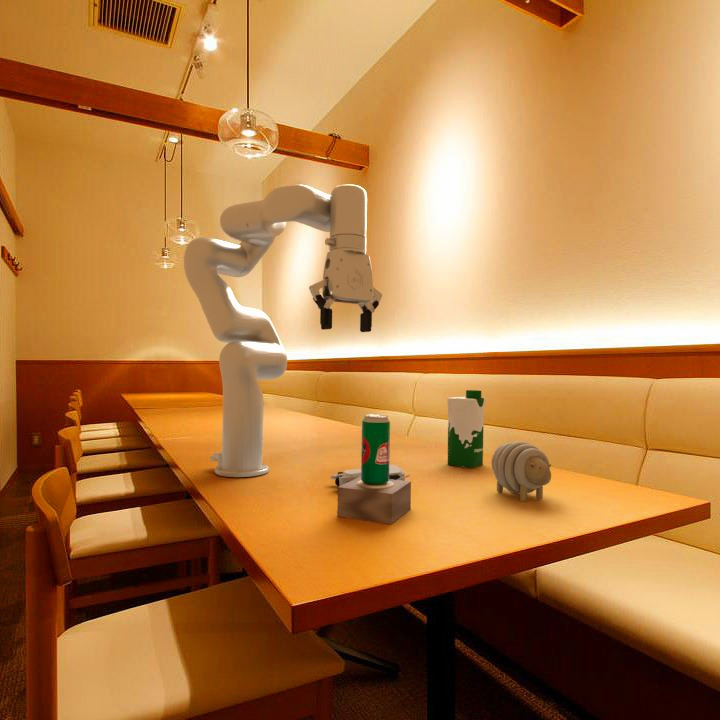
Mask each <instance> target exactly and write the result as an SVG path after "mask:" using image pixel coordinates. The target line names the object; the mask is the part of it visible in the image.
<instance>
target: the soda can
mask: <svg viewBox="0 0 720 720" xmlns="http://www.w3.org/2000/svg"><path fill="white" fill-rule="evenodd" d="M390 441H391V421H390V419H389V415H387V414H386V415H385V414H364V416H363V419H362V420H361V455H360V457H361V458H360V469H361V480H362V482H363V483H364V484H367V485H374V486H378V485H385V484H386V483H387V482H388V481H389V464H390V457H391V454H390V451H391V450H390V445H391V442H390Z"/></svg>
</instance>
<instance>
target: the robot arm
mask: <svg viewBox="0 0 720 720" xmlns="http://www.w3.org/2000/svg"><path fill="white" fill-rule="evenodd" d="M367 206H368V195H367V191H366V190H365V188H363V187H361V186H360V185H356V184H349V183H348V184H339V185H337V186H336V187H334V188H333V189H332V191H331V194H327V193H325V192H323V191H320V190H318V189H315V188H313V187H311V186H308V185H304V184H291V185H285V186H279V187H276V188H274V189H272V190H270V191H269V193H268V194H266V195H265V197H264V198H263V199H261V200H255V201H250V202H242V203H238V204H233V205H230V206H227V208H225V209H224V210H223V211H222V212H221V214H220V216H219V217H220V218H219V223H220V228H221V230H222V231H223V233H225V235H227V236H228V237H229V238H231V239H233V240H236V241H239V242H240V243H239V244H235V243H232V242H228V241H224V240H221V239H216V238H212V237H196V238H194V239H192V240H191V241H190V242H189V243H188V244H187V246H186V247H185V251H184V255H183V270H184V274H185V278H186V279H187V282H188V283H189V286H190V288H191V289H192V291H193V292H194V294H195V296H196V298H197V300H198V301H199V303H200V306H201V308H202V311H203V313H204V316H205V318H206V320H207V323H208V326H209V328H210V330H211V332H212V334H213V336H214V338H215V339H216V340H217V341H219V342H221V343H227V344H225V345H224V346H223V348H222V349H221V350H220V353H219V359H218V361H219V362H218V363H219V370H220V375H221V382H222V430H221V433H222V434H221V435H222V436H221V437H222V438H221V439H222V440H221V452H218V451H215V452H213V454H211V456H210V457H209V459H210V461H211V462H217V466H215V467H214V473H215V474H216V475H218V476H221V477H227V478H247V477H248V478H249V477H257V476H261V475H265V474H267V473H268V472H269V469H270V468H269V466H268V465H267V464H265V463H263V453H264V452H263V447H264V446H263V445H264V443H263V441H264V395H263V391H262V389H261V386H260V384H259V381H262V380H263V381H265V380H267V381H269V380H276V379H279V378H281V377H282V376H283V375H284V374H285V372H286V370H287V368H288V357H287V352H286V350H285V348H284V345H283V343H282V340H281V338H280V337H279V335H278V333H277V330H276V328H275V326H274V324H273V322H272V321H271V319H270V317H269V316H268V315H267V313H266V312H264V311H262V310H260V309H258V308H255V307H249V306H248V307H247V306H243V305H242V304H240V303H239V302H238V300H237V299H236V296H235V294H234V292H233V290H232V288H231V287H230V286H229V284H228V283H227V282H226V281H225V280H224V279H223V278H222V277H221V275H222V276H228V277H233V278H243V277H245V276H247V275H249V274H250V273H251V272H252V270H253V269H254V268H255V267H256V266H257V264H258V263H259V262H260V261H261V259H262V258H263V256H264V255H266V253H267V252H268V250H269V248H270V247H271V246H272V245H273V243H274V241H275V239H276V238H277V237H278V236H280V235H281V234H282V233H283V232H284V231H285V229H286V226H287V223H288V222H289V223H290V222H293V223H295V222H296V223H299V224H302V225H305V226H307V227H311V228H313V229H316V230H318V231H322V232H325V233H329V238H325V239H324V244H325V246H328V247H329V249H328V250H329V251H328V252H327V253H326V257H325V262H324V266H323V275H322V279H321V280H320V281H317V282H315V283H313V284H311V285H309V286H308V289H309V291H310V294H311V296H312V299H313V302H314V303H315V304H316V305H317V309H318V310H320V314H319V315H320V317H319V319H320V320H319V321H320V322H319V324H320V329H321V330H331V329H332V328H333V309H332V308H331V306H332V305H333V304H334V303H342V304H352V305H358V307H359V308H360V310H361V312H362V313H360V314H359V315H360V316H359V318H360V320H359V321H360V322H359V323H360V324H359V332H360V333H369V332H372V326H373V313H374V312H375V310H376V309H377V308H378V307H379V306H380V305H379V304H380V301H381V299H382V297H383V293H381V292H380V291H379V290H377V289H376V288H375V287H374V279H373V278H374V277H373V269H372V263H371V262H372V261H371V257H370V255H369V254H367V217H368V216H367V212H368V207H367ZM321 289H322V291H321V292H322V295H321V292H320V290H321Z"/></svg>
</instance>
